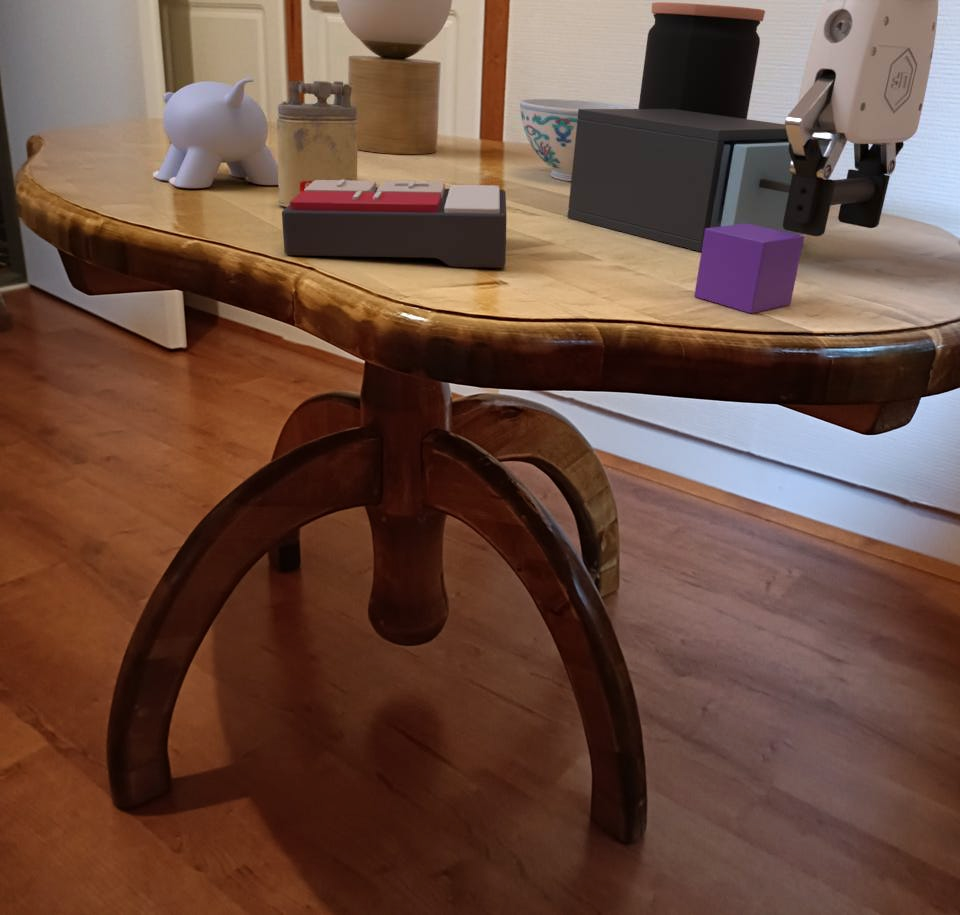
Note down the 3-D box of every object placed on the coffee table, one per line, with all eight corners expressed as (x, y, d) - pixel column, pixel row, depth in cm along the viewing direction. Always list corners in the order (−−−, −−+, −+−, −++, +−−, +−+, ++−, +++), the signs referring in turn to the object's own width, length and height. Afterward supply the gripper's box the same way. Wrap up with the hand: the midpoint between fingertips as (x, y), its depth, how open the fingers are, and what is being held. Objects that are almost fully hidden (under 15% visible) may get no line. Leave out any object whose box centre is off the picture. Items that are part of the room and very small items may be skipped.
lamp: (332, 136, 128) (332, -77, 118) (436, 141, 131) (446, -66, 121) (337, 151, 115) (339, -88, 104) (454, 156, 117) (466, -76, 107)
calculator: (309, 175, 73) (505, 178, 73) (312, 232, 75) (504, 235, 75) (279, 199, 63) (507, 203, 63) (283, 264, 65) (505, 268, 65)
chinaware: (519, 184, 101) (525, 106, 97) (510, 164, 114) (515, 95, 111) (660, 193, 101) (671, 116, 98) (634, 172, 115) (643, 104, 112)
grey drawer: (876, 248, 76) (898, 153, 73) (797, 262, 69) (818, 158, 66) (683, 205, 90) (695, 123, 86) (600, 213, 82) (610, 124, 79)
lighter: (288, 211, 79) (286, 81, 75) (269, 203, 82) (266, 77, 78) (364, 207, 83) (366, 83, 79) (344, 199, 86) (345, 79, 82)
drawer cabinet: (789, 238, 83) (811, 127, 79) (700, 252, 75) (720, 130, 71) (658, 208, 92) (672, 108, 89) (567, 217, 85) (578, 108, 81)
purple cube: (733, 288, 65) (745, 222, 63) (790, 304, 62) (804, 236, 60) (693, 296, 62) (704, 228, 60) (751, 313, 59) (764, 242, 57)
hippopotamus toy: (234, 165, 100) (230, 67, 96) (302, 189, 89) (301, 79, 85) (130, 168, 93) (121, 63, 89) (190, 194, 83) (183, 76, 79)
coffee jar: (741, 200, 101) (774, 12, 94) (720, 213, 92) (755, 7, 85) (643, 187, 105) (667, 5, 97) (614, 199, 96) (638, 0, 88)
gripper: (874, -45, 58) (812, 249, 65) (996, -21, 69) (931, 229, 76) (768, -45, 63) (721, 228, 70) (897, -23, 74) (845, 212, 81)
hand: (831, 226), depth 73 cm, fingers closed on grey drawer, 7 cm apart
